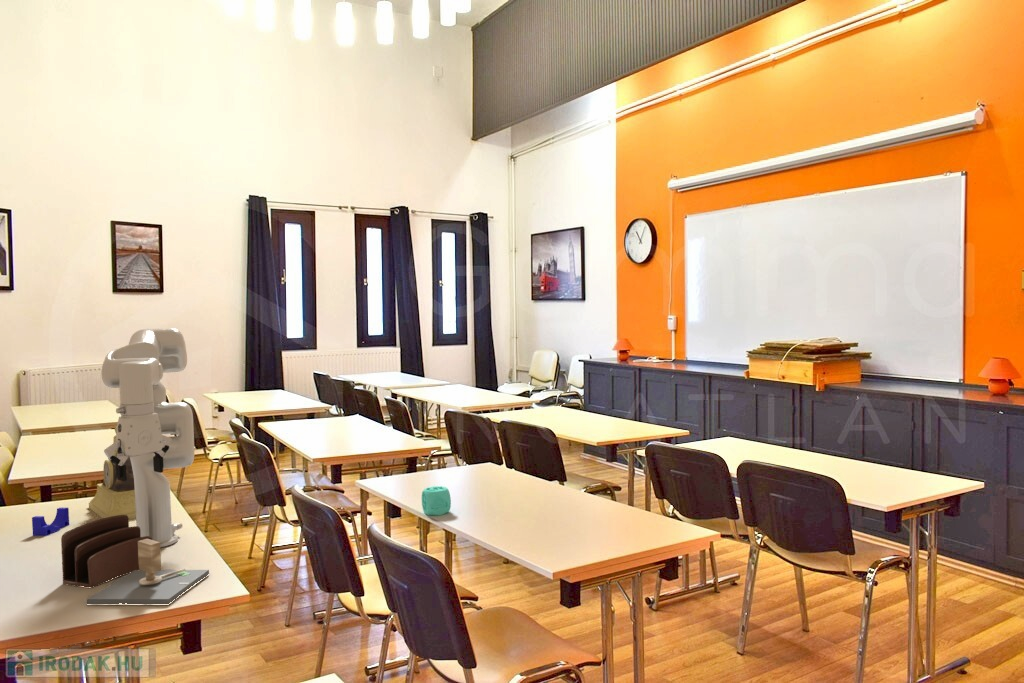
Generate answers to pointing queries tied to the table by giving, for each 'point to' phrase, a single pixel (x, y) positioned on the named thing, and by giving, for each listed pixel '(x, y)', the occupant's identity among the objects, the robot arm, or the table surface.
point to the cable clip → (59, 522)
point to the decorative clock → (115, 492)
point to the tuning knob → (151, 562)
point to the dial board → (147, 588)
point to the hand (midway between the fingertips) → (140, 475)
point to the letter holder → (100, 551)
